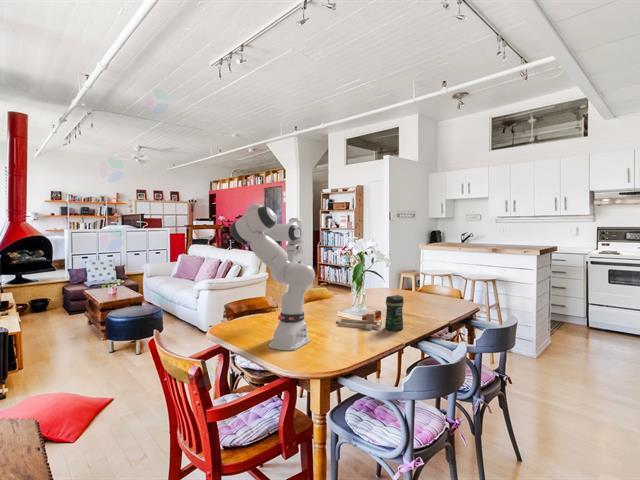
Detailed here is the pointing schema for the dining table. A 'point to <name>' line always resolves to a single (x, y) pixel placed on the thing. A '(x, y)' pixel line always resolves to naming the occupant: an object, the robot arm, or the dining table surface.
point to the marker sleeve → (371, 318)
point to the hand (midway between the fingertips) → (295, 269)
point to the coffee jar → (394, 312)
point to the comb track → (362, 325)
